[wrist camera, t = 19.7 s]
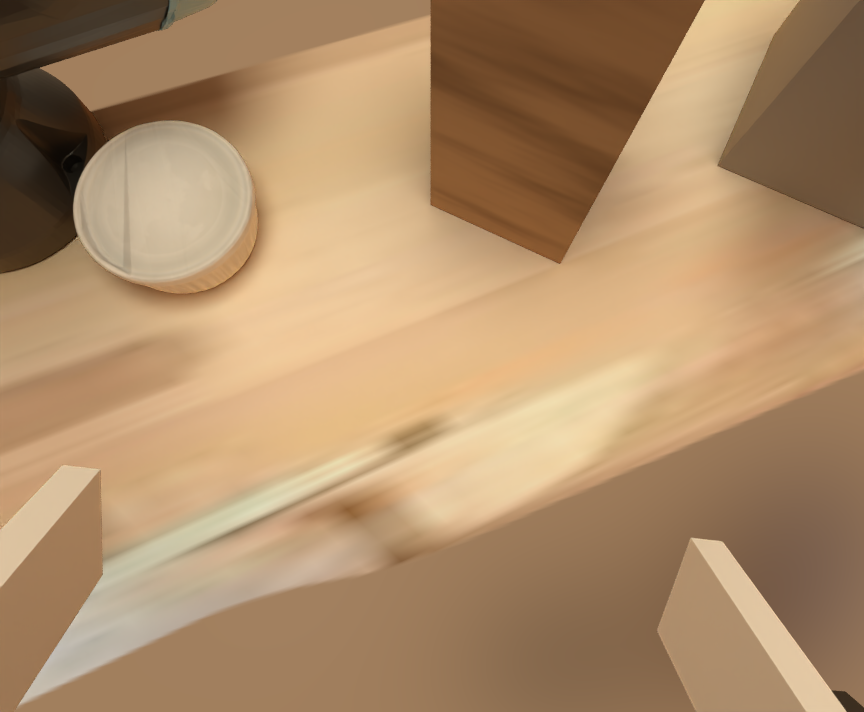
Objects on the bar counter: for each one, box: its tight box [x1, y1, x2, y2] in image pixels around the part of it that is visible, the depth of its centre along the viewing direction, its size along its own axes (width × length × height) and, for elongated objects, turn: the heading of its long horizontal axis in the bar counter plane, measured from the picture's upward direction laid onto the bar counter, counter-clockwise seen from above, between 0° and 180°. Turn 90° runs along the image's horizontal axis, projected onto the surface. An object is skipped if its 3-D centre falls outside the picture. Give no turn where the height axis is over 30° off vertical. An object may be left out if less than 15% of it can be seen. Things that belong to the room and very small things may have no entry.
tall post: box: [431, 0, 705, 263], centre depth 32 cm, size 10×10×30 cm
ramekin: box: [73, 120, 258, 294], centre depth 43 cm, size 11×11×5 cm
